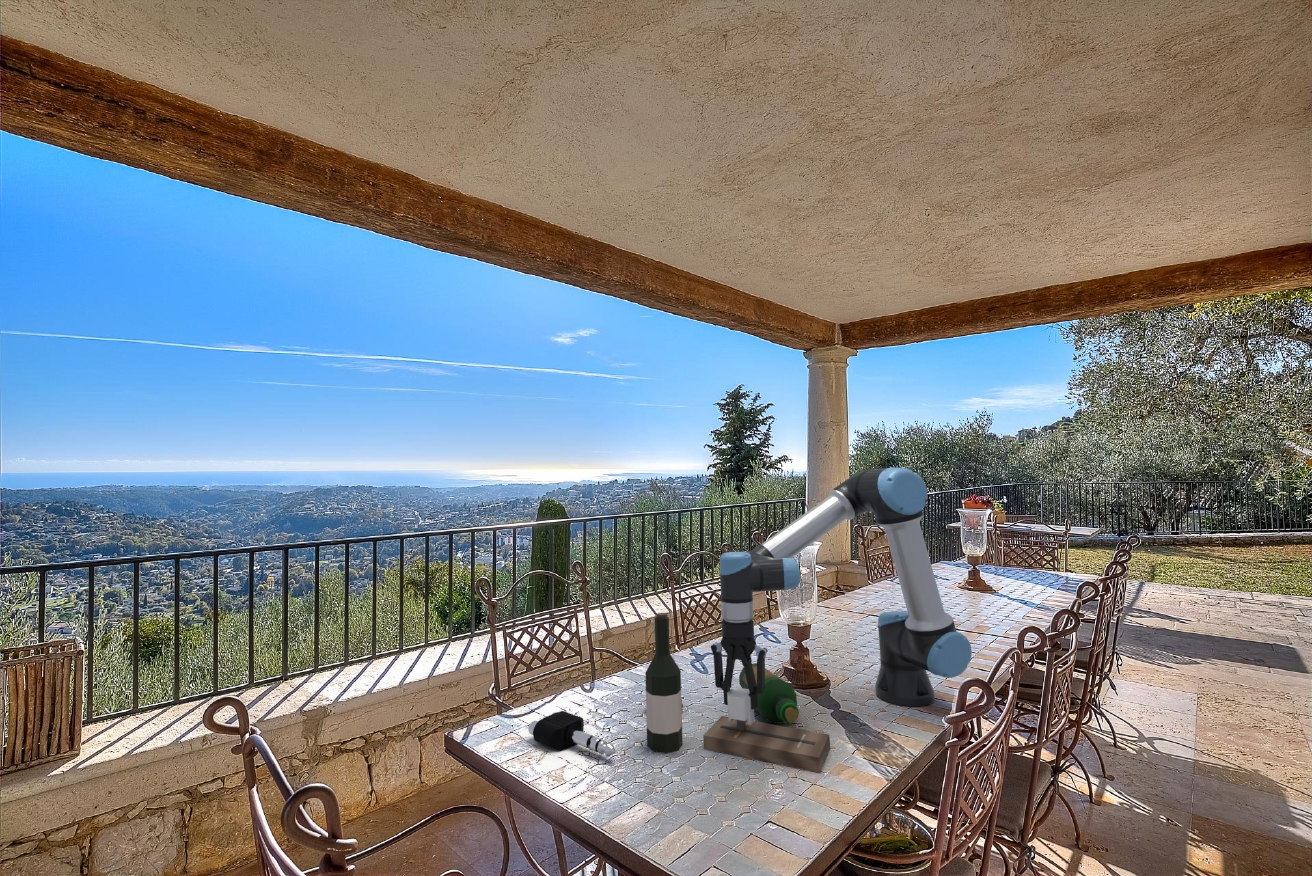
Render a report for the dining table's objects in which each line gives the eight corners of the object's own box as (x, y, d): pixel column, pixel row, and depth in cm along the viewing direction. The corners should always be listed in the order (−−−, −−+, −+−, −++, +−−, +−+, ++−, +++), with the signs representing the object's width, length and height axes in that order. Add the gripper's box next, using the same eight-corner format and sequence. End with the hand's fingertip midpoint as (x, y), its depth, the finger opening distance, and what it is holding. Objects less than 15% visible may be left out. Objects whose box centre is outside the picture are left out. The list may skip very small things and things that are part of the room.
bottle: (773, 662, 163) (817, 696, 135) (766, 700, 161) (808, 742, 134) (739, 655, 161) (775, 688, 134) (731, 693, 160) (766, 734, 132)
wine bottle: (645, 738, 136) (643, 610, 138) (680, 736, 136) (676, 609, 139) (648, 754, 127) (645, 618, 130) (685, 752, 128) (681, 617, 131)
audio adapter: (560, 704, 144) (632, 730, 128) (560, 726, 144) (632, 755, 128) (525, 719, 136) (596, 748, 120) (525, 742, 136) (597, 774, 119)
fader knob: (753, 725, 134) (752, 689, 134) (745, 736, 128) (744, 698, 129) (737, 723, 135) (736, 687, 136) (729, 733, 130) (727, 695, 131)
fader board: (830, 748, 128) (829, 734, 129) (819, 772, 118) (818, 757, 118) (722, 728, 140) (722, 715, 140) (703, 748, 129) (703, 734, 130)
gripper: (777, 618, 133) (781, 721, 131) (709, 612, 141) (713, 709, 139) (768, 625, 127) (772, 733, 125) (698, 619, 135) (701, 721, 133)
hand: (741, 720), depth 132 cm, fingers closed on fader knob, 4 cm apart
